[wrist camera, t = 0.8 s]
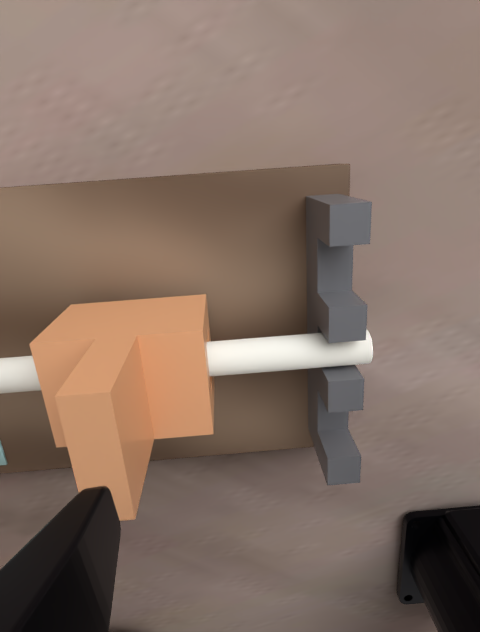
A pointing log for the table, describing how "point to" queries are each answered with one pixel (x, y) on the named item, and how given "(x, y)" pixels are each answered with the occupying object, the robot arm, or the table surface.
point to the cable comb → (335, 327)
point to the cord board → (165, 287)
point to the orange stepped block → (125, 386)
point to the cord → (231, 358)
